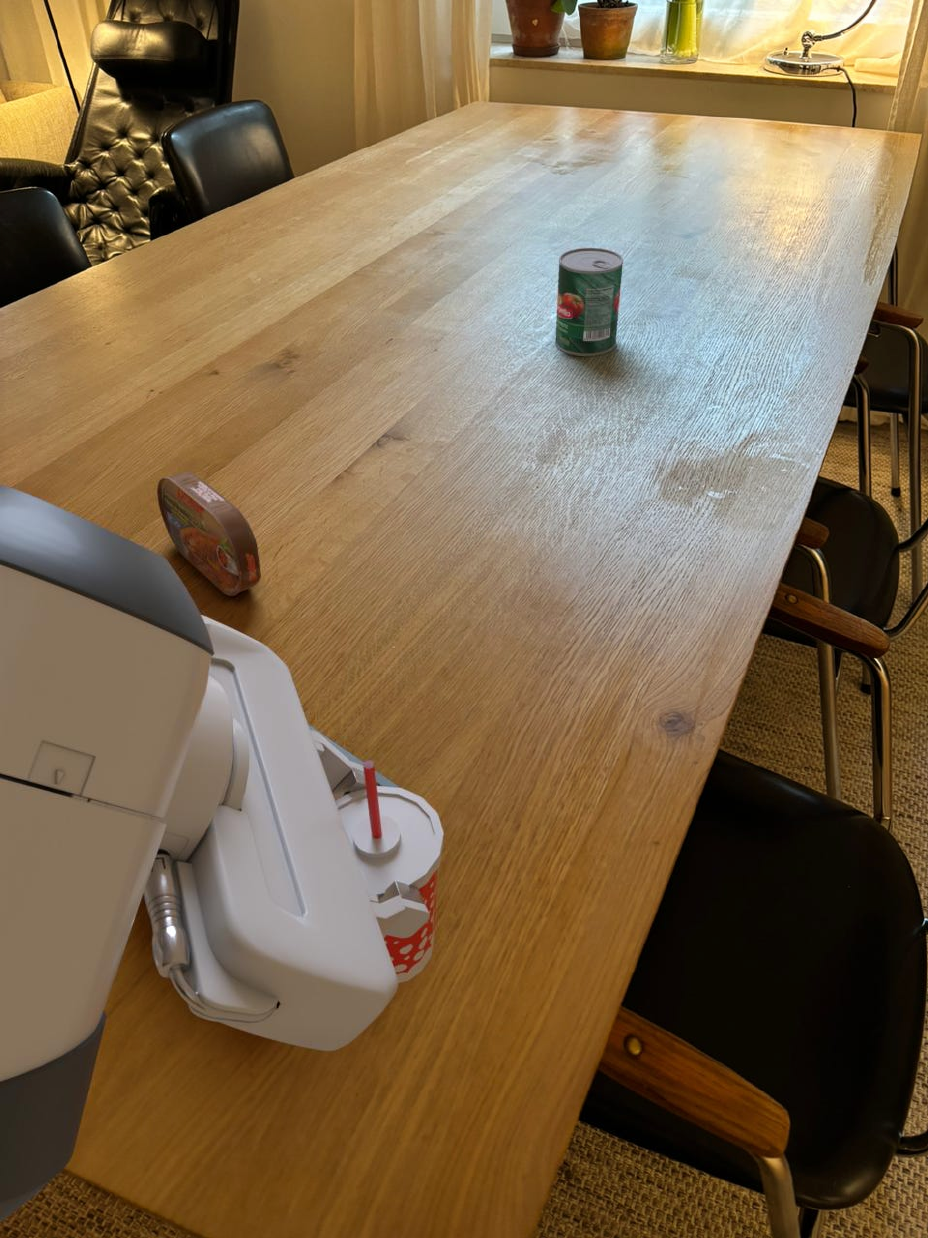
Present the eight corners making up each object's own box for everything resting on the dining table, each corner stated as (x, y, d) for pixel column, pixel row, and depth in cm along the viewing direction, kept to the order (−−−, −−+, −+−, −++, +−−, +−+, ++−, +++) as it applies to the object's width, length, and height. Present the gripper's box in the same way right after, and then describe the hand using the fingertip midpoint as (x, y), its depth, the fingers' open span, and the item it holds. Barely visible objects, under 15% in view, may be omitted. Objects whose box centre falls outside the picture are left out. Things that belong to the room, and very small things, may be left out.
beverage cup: (332, 897, 54) (300, 717, 45) (445, 889, 54) (436, 708, 45) (328, 1004, 49) (291, 827, 40) (452, 995, 49) (443, 817, 40)
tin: (164, 539, 97) (145, 464, 92) (193, 526, 99) (175, 453, 93) (243, 613, 88) (226, 536, 83) (273, 598, 90) (259, 521, 84)
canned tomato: (542, 342, 129) (545, 258, 122) (583, 324, 133) (589, 242, 126) (587, 362, 124) (592, 276, 117) (628, 343, 128) (636, 258, 121)
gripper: (225, 946, 29) (522, 1003, 38) (143, 561, 44) (371, 666, 53) (108, 1070, 31) (418, 1097, 40) (66, 660, 46) (300, 746, 55)
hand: (390, 849), depth 47 cm, fingers closed on beverage cup, 6 cm apart
